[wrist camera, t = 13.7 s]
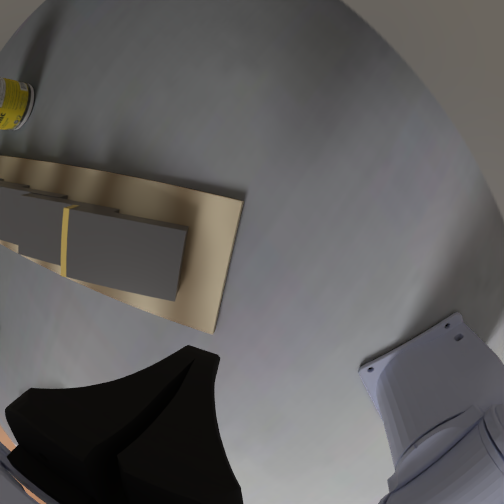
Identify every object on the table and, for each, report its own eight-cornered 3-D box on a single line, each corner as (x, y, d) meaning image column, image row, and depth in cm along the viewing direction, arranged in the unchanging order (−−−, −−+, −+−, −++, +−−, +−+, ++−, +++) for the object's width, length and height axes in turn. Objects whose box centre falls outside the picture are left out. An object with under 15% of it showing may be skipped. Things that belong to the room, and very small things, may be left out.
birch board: (244, 201, 20) (242, 201, 19) (214, 331, 22) (212, 334, 21) (-14, 153, 23) (-17, 153, 22) (-19, 230, 25) (-22, 230, 25)
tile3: (58, 197, 20) (-9, 185, 18) (54, 255, 21) (-11, 236, 19) (67, 195, 21) (0, 183, 20) (63, 250, 22) (-2, 232, 21)
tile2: (112, 212, 19) (20, 195, 18) (106, 277, 20) (18, 253, 19) (119, 209, 20) (30, 193, 19) (112, 270, 22) (28, 248, 20)
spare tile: (186, 230, 18) (63, 207, 17) (174, 301, 20) (60, 275, 18) (188, 225, 20) (73, 204, 18) (177, 292, 21) (70, 268, 20)
